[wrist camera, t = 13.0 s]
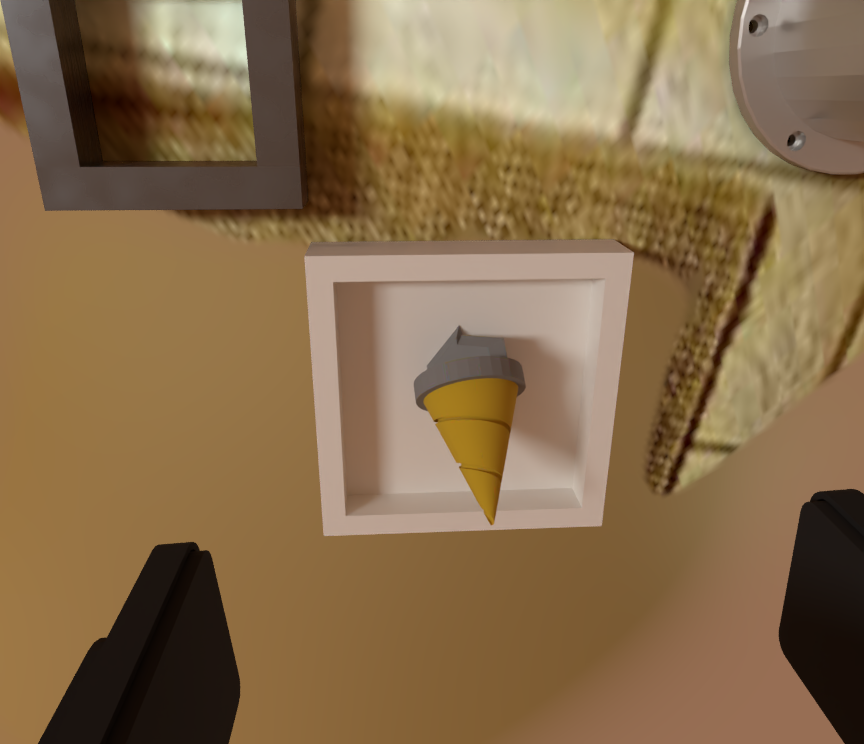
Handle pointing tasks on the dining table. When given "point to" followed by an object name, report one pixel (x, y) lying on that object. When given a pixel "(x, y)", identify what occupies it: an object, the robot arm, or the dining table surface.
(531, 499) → the tray
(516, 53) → the dining table surface
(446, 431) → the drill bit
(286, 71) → the socket collar
